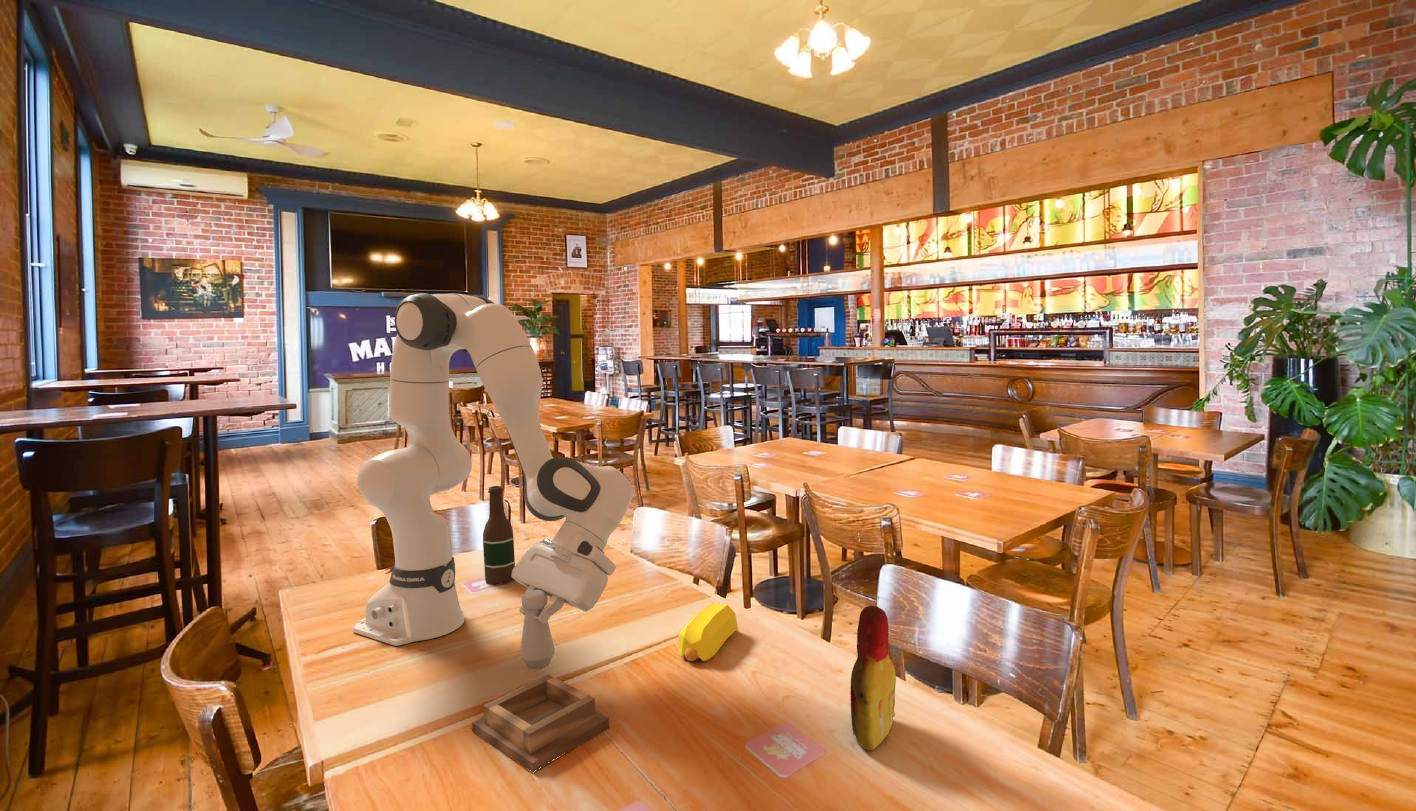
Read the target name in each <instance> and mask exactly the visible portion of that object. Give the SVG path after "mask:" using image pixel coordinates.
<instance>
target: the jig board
mask: <svg viewBox="0 0 1416 811" xmlns="http://www.w3.org/2000/svg"><path fill="white" fill-rule="evenodd" d="M609 728H610V718H609V717H608V716H606V715H604V714H602V713H600V712H598V711H596V698H595V697H593V696H591V695H589V694H588V693H585V692H583V691H581V690H579V689H577V688H576V687H574V686H572V685H570V684H568V683H566V682H564V681H562V680H560V679H558V678H556V677H554V676H552V675H550V674H546V675H544V676H542V677H540V678H537V679H536V680H533V681H532V682H529V683H527V684H525V685H523V686H521V687H519V688H517V689H515V690H512V691H510V692H508V693H506V694H504V695H502V696H500V697H498V698H496V699H494V700H492V701H489V702H487V703H486V704H484V705H483V716H482V717H480V718H479V717H478V718H477V719H475V720H473V721H471V731H472V733H474V734H475V735H477V736H478V737H480V738H481V739H483V740H484V741H486V742H487V743H489V744H490V745H492V747H494V748H496V749H498V751H500V752H502V753H503V754H505V755H506V756H507V757H509V758H511V760H513V759H514V760H513V761H515V762H516V761H517V762H516V763H518V762H519V763H520V764H519V763H518V764H519V765H520V766H522V765H523V767H524V768H525V767H526V768H528V769H529V770H531V771H532V772H534V771H535V770H538V769H539V768H540V767H543V766H544V765H546V764H548V762H551V761H552V760H553V759H556V758H557V757H559V756H561V755H562V754H564V753H566V754H567V752H568V751H569V752H571V751H573V750H574V749H576V748H577V747H579V746H581V745H582V744H584V743H586V742H587V741H589V740H591V739H593V738H594V737H596V736H597V735H599V734H600V733H602V732H604V731H605V730H607V729H609ZM578 745H579V746H578ZM572 749H573V750H572ZM570 750H571V751H570ZM569 752H568V753H569ZM564 755H565V754H564ZM561 757H562V756H561ZM559 758H560V757H559ZM556 760H557V759H556ZM551 763H552V762H551ZM548 765H549V764H548ZM546 766H547V765H546ZM544 767H545V766H544ZM544 767H543V768H544ZM526 768H525V769H526ZM528 769H527V770H528ZM529 770H528V771H529ZM539 770H540V769H539ZM539 770H538V771H539ZM531 771H530V772H531ZM532 772H531V773H532ZM534 773H535V772H534Z"/></svg>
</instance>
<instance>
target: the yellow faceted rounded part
mask: <svg viewBox="0 0 1416 811" xmlns="http://www.w3.org/2000/svg"><path fill="white" fill-rule="evenodd" d="M738 629H739V626H738V621H737V614H736V612H735V611H734V610H733V609H732V607H730V606H729V604H718V603H717V602H716V603H715V602H711V603H710V604H708V605H707V606H706V607H703V609H701V611H699V612H698V613H697V614H696V615H694V616H693V617H692V618H691V619H690V621H689V622H688V623H687V624H685V626H684V627H683V628H682V629H681V631H680V632H679V634H678V640H677V650H678V653H679V655H680V657H682V658H685V659H686V660H687V661H689V662H694V661H696V660H698V659H701V661H703V662H708V661H709V660H711V659H712V657H714V656H715V655H716V654H717V652H718V651H719V650H720V648H721V647H722V646H723V644H724V643H725V642H726V640H727V639H728V638H729V637H731V635H732V634H734V633H735V632H736V631H737V630H738Z"/></svg>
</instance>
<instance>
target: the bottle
mask: <svg viewBox="0 0 1416 811" xmlns="http://www.w3.org/2000/svg"><path fill="white" fill-rule="evenodd" d="M889 637H890V636H889V620H888V615H887V614H886V611H885V610H883V609H882V608H880V607H879V606H876V605H867V606H864V608H863V609H862V610H861V612H860V614H859V618H858V626H857V633H856V653H857V656H856V660H855V662H854V665H853V667H852V670H851V676H850V693H849V695H850V715H851V716H850V718H851V728H852V732H853V736H854V739H855V741H856V743H857V744H858V746H860V747H861V748H863V749H865V750H869V751H871V750H872V751H873V750H875V749H876V748H877V747H878V746H880V745H881V743H882V742H883V741H884V740H885V738H886V737H888V735H889V734H890V731H891V730H890V729H891V728H892V726H893V723H894V717H895V716H896V712H895V706H896V705H895V704H896V684H897V683H896V680H897V676H896V675H897V674H896V667H895V666H894V663H893V662H892V660H891V659H890V654H889V652H890V651H889Z"/></svg>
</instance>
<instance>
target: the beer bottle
mask: <svg viewBox="0 0 1416 811" xmlns="http://www.w3.org/2000/svg"><path fill="white" fill-rule="evenodd" d="M487 492H488V493H489V500H488V501H489V506H488V507H489V508H488V509H489V510H488V511H489V513H488V514H489V515H488V520H487V521H486V523H485V524H484V529H483V531H482V532H483V534H482V547H483V548H482V550H483V563H484V564H483V565H484V579H485V583H486V584H489V585H493V586H497V585H506V584H509V583H511V582H513V581H514V582H515V579H513V578H512V570H513V568H514V567H515V566H516V560H515V540H514V529H513V526H512V524H511V522H510V520H509V519H508V518H507V517H506V516H507V515H506V512H505V505H504V495H503V492H504V488H503V486H502V485H501V486H500V485H492V486H490V487H489V488H488V491H487Z"/></svg>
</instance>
